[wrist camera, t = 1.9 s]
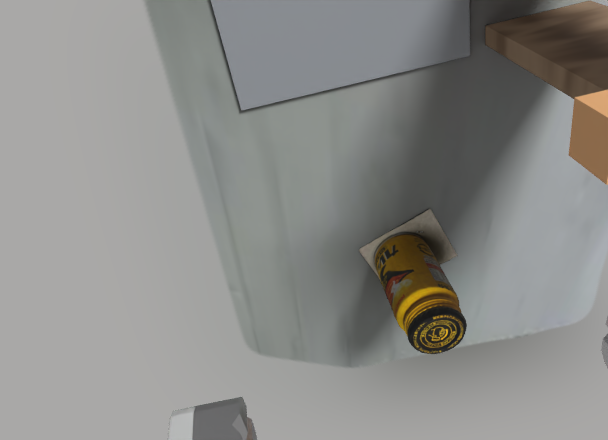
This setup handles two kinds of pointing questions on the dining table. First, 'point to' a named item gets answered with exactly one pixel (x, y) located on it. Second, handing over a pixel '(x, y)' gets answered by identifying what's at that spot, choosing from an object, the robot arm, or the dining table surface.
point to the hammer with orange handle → (591, 133)
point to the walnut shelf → (558, 46)
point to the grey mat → (333, 42)
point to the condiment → (419, 283)
